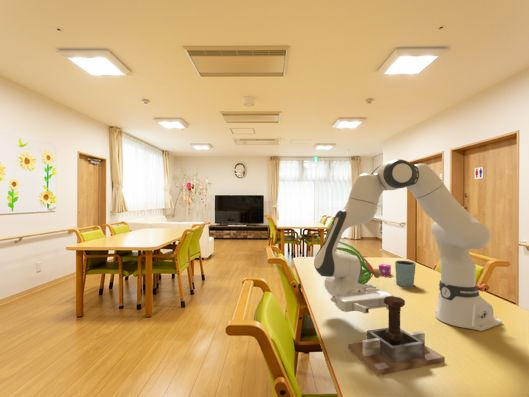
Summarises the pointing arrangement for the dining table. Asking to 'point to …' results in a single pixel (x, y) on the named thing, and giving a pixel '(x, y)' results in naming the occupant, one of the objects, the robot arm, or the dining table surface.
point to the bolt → (394, 319)
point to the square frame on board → (395, 352)
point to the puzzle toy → (385, 269)
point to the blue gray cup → (405, 273)
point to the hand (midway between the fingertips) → (379, 309)
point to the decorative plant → (367, 267)
